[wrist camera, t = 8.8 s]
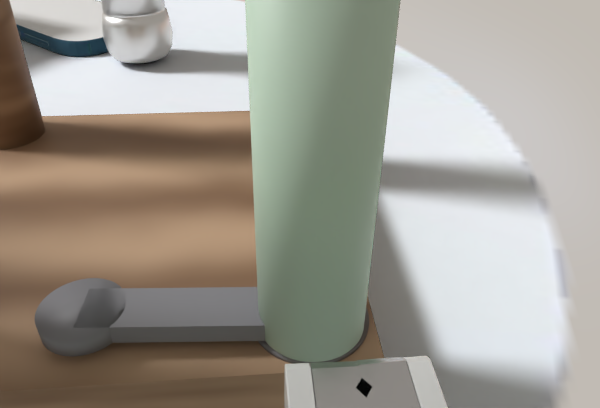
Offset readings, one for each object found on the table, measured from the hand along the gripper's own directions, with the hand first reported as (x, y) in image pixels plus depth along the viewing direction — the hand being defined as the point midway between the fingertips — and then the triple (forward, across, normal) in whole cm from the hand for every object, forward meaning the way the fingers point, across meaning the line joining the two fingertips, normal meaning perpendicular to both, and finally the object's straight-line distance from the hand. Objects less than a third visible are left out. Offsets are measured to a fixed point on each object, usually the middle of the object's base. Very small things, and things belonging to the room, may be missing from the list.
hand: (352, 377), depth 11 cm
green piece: (+8, +4, +6) cm, 10 cm away
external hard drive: (+58, +23, +10) cm, 64 cm away
